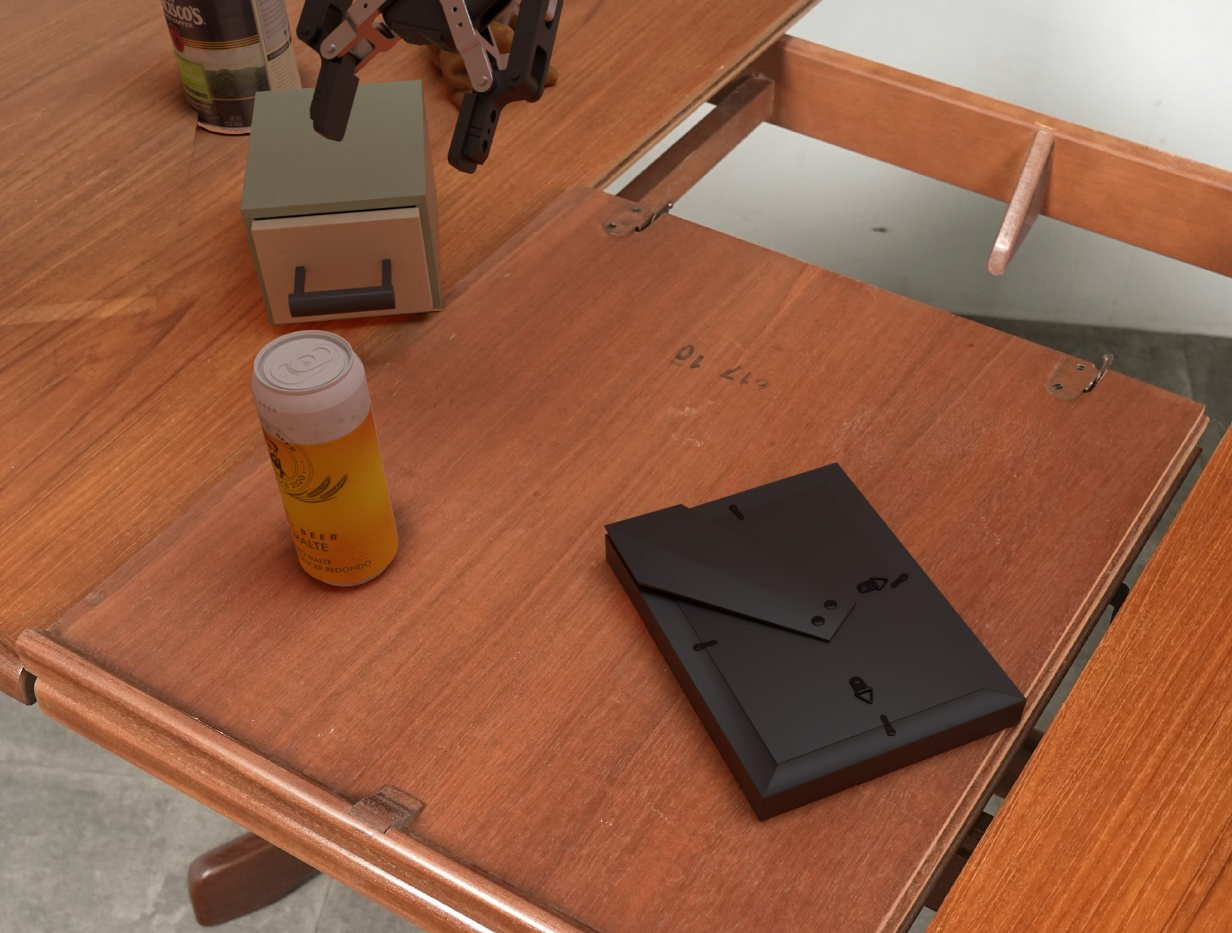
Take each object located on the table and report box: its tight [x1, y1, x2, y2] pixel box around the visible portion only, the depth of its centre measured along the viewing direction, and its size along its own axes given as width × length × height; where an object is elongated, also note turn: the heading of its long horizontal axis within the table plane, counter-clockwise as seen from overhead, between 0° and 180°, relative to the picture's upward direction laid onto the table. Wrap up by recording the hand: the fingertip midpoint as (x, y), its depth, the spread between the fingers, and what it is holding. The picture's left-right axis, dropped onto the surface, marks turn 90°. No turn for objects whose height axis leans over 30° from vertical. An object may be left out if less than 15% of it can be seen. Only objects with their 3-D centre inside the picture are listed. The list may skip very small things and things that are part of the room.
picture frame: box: [604, 461, 1028, 822], centre depth 78 cm, size 16×3×21 cm
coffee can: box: [160, 0, 303, 132], centre depth 117 cm, size 10×10×14 cm
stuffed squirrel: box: [425, 1, 559, 109], centre depth 120 cm, size 10×14×13 cm
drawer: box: [251, 205, 433, 325], centre depth 100 cm, size 20×11×8 cm, turn 6°
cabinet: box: [239, 79, 443, 327], centre depth 103 cm, size 17×13×10 cm
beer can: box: [250, 329, 399, 587], centre depth 79 cm, size 6×6×15 cm
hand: (392, 152), depth 75 cm, fingers open, 8 cm apart
